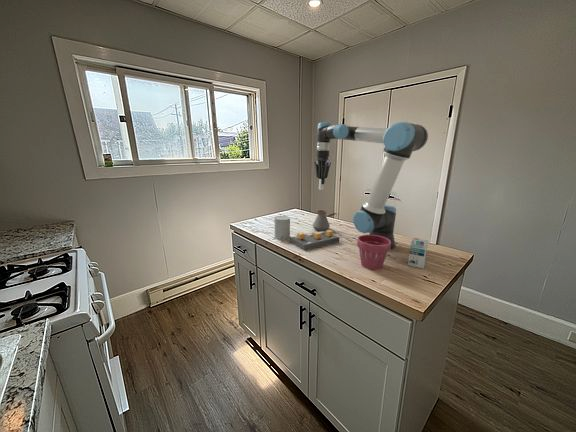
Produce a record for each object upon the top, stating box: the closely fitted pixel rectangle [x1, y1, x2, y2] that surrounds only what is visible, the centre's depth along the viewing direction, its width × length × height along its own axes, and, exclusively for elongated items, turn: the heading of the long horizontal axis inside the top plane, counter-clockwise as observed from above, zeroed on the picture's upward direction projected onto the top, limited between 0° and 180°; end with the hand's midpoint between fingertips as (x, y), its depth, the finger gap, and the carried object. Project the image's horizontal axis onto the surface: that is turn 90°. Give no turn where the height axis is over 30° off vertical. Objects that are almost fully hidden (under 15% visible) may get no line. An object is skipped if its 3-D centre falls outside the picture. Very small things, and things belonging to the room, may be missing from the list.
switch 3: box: [325, 229, 334, 237], centre depth 138 cm, size 3×3×3 cm
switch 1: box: [296, 231, 306, 239], centre depth 133 cm, size 3×3×3 cm
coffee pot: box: [312, 209, 339, 232], centre depth 154 cm, size 21×12×15 cm, turn 26°
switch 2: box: [313, 231, 321, 239], centre depth 134 cm, size 3×3×3 cm
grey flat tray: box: [289, 230, 340, 251], centre depth 137 cm, size 14×25×3 cm, turn 122°
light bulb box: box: [407, 237, 429, 269], centre depth 111 cm, size 11×7×11 cm, turn 148°
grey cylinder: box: [273, 215, 291, 241], centre depth 144 cm, size 10×10×12 cm
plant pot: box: [356, 234, 391, 271], centre depth 107 cm, size 14×14×13 cm
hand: (321, 189), depth 147 cm, fingers closed
